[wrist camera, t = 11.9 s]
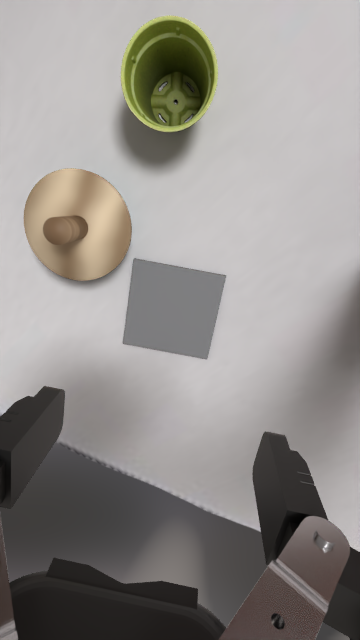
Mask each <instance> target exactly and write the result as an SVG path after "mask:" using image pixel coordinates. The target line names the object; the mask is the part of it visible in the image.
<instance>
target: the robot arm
mask: <svg viewBox="0 0 360 640" xmlns="http://www.w3.org/2000/svg"><path fill="white" fill-rule="evenodd" d="M64 400H65V391H64V390H62V389H57V388H52V387H47V386H44V387H43V388H42V389H41V390H40V391H39V392H38V393H37V394H36V395H35V396H34V397H30V396H27V397H25V398H23V399H21V400H19V401H17V402H15V403H14V404H13V405H12V406H11V407H10V408H9V409H8V410H7V411H6V413H4V414H3V415H2V416H1V417H0V507H4V508H8V509H11V508H12V507H13V505H14V504H15V502H16V501H17V499H18V498H19V496H20V495H21V493H22V492H23V490H24V488H25V487H26V485H27V484H28V482H29V481H30V479H31V478H32V476H33V475H34V473H35V472H36V470H37V469H38V467H39V466H40V464H41V463H42V461H43V460H44V458H45V457H46V455H47V454H48V452H49V451H50V449H51V448H52V446H53V444H54V443H55V442H56V440H57V438H58V437H59V435H60V432H61V429H62V425H63V415H64ZM253 484H254V490H255V496H256V503H257V509H258V515H259V521H260V528H261V534H262V540H263V547H264V552H265V559H266V564H267V565H269V566H268V567H267V569H266V570H265V571H264V573H263V574H262V576H261V578H260V579H259V580H258V582H257V583H256V585H255V586H254V588H253V589H252V591H251V592H250V594H249V595H248V597H247V598H246V600H245V601H244V603H243V604H242V606H241V607H240V609H239V610H238V611H237V613H236V614H235V616H234V617H233V619H232V620H231V622H230V623H229V625H228V626H227V628H226V627H225V626H224V624H223V623H222V622H221V621H220V620H219V619H218V618H217V617H216V616H215V615H214V614H213V613H211V612H210V611H209V610H208V609H206V608H205V607H203V606H202V605H200V604H198V603H197V599H198V589H196V588H192V587H187V586H182V585H178V584H173V583H169V582H163V581H157V582H144V583H130V584H123V583H120V582H118V581H116V580H115V579H113V578H111V577H109V576H107V575H105V574H104V573H102V572H100V571H98V570H96V569H95V568H93V567H91V566H89V565H85V564H80V563H76V562H71V561H66V560H62V559H57V558H53V561H52V563H51V565H50V567H49V570H48V571H42V572H36V573H32V574H29V575H26V576H23V577H21V578H18V579H16V580H14V581H12V582H10V583H9V577H8V569H7V562H6V554H5V547H4V539H3V531H2V523H1V516H0V640H315V639H316V636H317V634H318V632H319V629H320V627H321V624H322V622H324V623H326V624H327V625H329V626H331V627H332V628H334V629H336V630H338V631H339V632H341V633H343V634H344V635H346V636H348V637H349V638H350V640H360V552H358V551H356V550H355V549H353V548H351V547H350V545H349V543H348V540H347V539H346V537H345V535H344V534H343V533H342V532H341V530H340V529H339V528H338V527H337V526H335V525H334V524H333V523H331V522H330V521H328V518H327V516H326V513H325V510H324V508H323V505H322V503H321V500H320V497H319V495H318V492H317V489H316V487H315V486H314V481H313V479H312V476H311V473H310V471H309V468H308V466H307V463H306V462H305V460H304V459H303V458H302V457H301V456H300V454H299V453H298V452H297V451H292V450H290V448H289V445H288V442H287V439H286V437H285V435H280V434H275V433H271V432H264V434H263V436H262V439H261V442H260V446H259V449H258V452H257V455H256V458H255V461H254V466H253Z"/></svg>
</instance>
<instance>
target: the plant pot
mask: <svg viewBox="0 0 360 640" xmlns="http://www.w3.org/2000/svg"><path fill="white" fill-rule="evenodd" d="M217 80H218V66H217V59H216V55H215V52H214V49H213V46H212V44H211V42H210V41H209V39H208V37H207V36H206V35H205V33H204V32H203V31H202V30H201V29H200V28H199V27H198V26H197V25H195V24H194V23H193V22H191V21H189V20H187V19H185V18H182V17H178V16H162V17H158V18H155V19H153V20H151V21H149V22H147V23H146V24H144V25H143V26H142V27H141V28H140V29H139V30H138V31H137V32H136V33H135V34H134V36H133V37H132V39H131V40H130V42H129V44H128V46H127V48H126V50H125V53H124V56H123V60H122V66H121V85H122V91H123V94H124V97H125V100H126V102H127V104H128V106H129V108H130V110H131V111H132V113H133V114H134V115H135V116H136V117H137V118H138V119H139V120H140V121H141V122H142V123H143V124H145V125H146V126H148V127H150V128H152V129H154V130H157V131H161V132H177V131H181V130H184V129H186V128H188V127H190V126H192V125H193V124H195V123H196V122H197V121H198V120H199V119H200V118H201V117H202V116H203V115H204V114H205V112H206V111H207V109H208V108H209V106H210V104H211V102H212V100H213V97H214V94H215V91H216V87H217ZM164 82H168V83H167V85H166V86H164V87H163V88H162V90H161V91H160V92H159V87H160V86H161V85H162V84H163V83H164ZM186 82H189V84H190V85H191V86H193V88H194V92H192V91H191V89H190V88H189V87H188V85H186ZM174 100H177V101H178V104H177V105H176V104H174ZM159 113H160V114H161V116H162V117H163V118H164V119H165V120H166V121H167V122H166V123H164V122H163V121H162V120H161V119H160V118H159V115H158V114H159ZM191 114H193V117H192V118H191V120H189V121H188V122H186V123H185V122H184V121H185V120H187V119H188V118H189V117H190V115H191Z"/></svg>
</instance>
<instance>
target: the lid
mask: <svg viewBox="0 0 360 640" xmlns="http://www.w3.org/2000/svg"><path fill="white" fill-rule="evenodd" d="M24 227H25V233H26V236H27V239H28V242H29V244H30V246H31V248H32V250H33V252H34V253H35V255H36V256H37V257H38V259H39V260H40V261H41V262H42V263H43V264H44V265H45V266H46V267H47V268H49V269H50V270H52V271H53V272H55V273H56V274H58V275H60V276H63V277H65V278H68V279H72V280H79V281H87V280H93V279H97V278H100V277H102V276H104V275H106V274H108V273H109V272H111V271H112V270H113V269H115V268H116V267H117V266H118V265H119V264H120V263H121V261H122V260H123V258H124V257H125V255H126V253H127V251H128V248H129V245H130V241H131V233H132V227H131V219H130V214H129V211H128V208H127V206H126V204H125V202H124V200H123V198H122V197H121V195H120V194H119V192H118V191H117V190H116V189H115V188H114V187H113V186H112V185H111V184H110V183H109V182H108V181H107V180H105V179H104V178H102V177H100V176H99V175H97V174H94V173H92V172H89V171H86V170H82V169H74V168H70V169H61V170H57V171H54V172H52V173H50V174H48V175H46V176H45V177H43V178H42V179H41V180H40V181H39V182H38V183H37V184H36V185H35V186H34V188H33V189H32V190H31V192H30V194H29V196H28V199H27V201H26V205H25V210H24Z"/></svg>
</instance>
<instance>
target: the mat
mask: <svg viewBox="0 0 360 640" xmlns="http://www.w3.org/2000/svg"><path fill="white" fill-rule="evenodd" d="M225 278H226V275H220V274H215V273H210V272H204V271H199V270H194V269H188V268H183V267H178V266H172V265H167V264H161V263H156V262H151V261H145V260H140V259H134V262H133V270H132V278H131V285H130V293H129V301H128V309H127V317H126V325H125V332H124V340H123V344H127V345H133V346H138V347H143V348H149V349H154V350H160V351H165V352H170V353H176V354H181V355H186V356H192V357H197V358H202V359H207V358H208V354H209V349H210V345H211V340H212V336H213V331H214V327H215V323H216V318H217V314H218V309H219V305H220V300H221V296H222V292H223V287H224V283H225Z"/></svg>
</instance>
